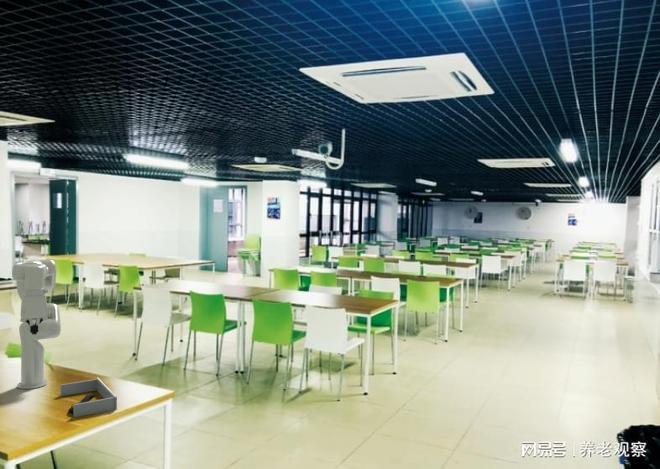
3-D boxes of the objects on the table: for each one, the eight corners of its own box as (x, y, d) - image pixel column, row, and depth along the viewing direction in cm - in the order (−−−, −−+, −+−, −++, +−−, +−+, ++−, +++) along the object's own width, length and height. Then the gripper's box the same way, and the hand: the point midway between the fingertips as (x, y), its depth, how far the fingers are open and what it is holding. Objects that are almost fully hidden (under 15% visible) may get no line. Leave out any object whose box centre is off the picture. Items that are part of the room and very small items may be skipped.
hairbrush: (101, 389, 232) (86, 405, 208) (101, 397, 232) (86, 414, 207) (82, 390, 230) (65, 406, 206) (82, 398, 230) (64, 415, 206)
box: (60, 395, 230) (60, 383, 230) (98, 389, 240) (98, 377, 239) (74, 417, 204) (74, 403, 204) (116, 409, 214) (116, 395, 214)
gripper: (52, 291, 232) (51, 330, 232) (13, 293, 223) (13, 334, 223) (54, 292, 226) (54, 333, 226) (15, 295, 217) (15, 337, 217)
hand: (34, 334), depth 224 cm, fingers closed
